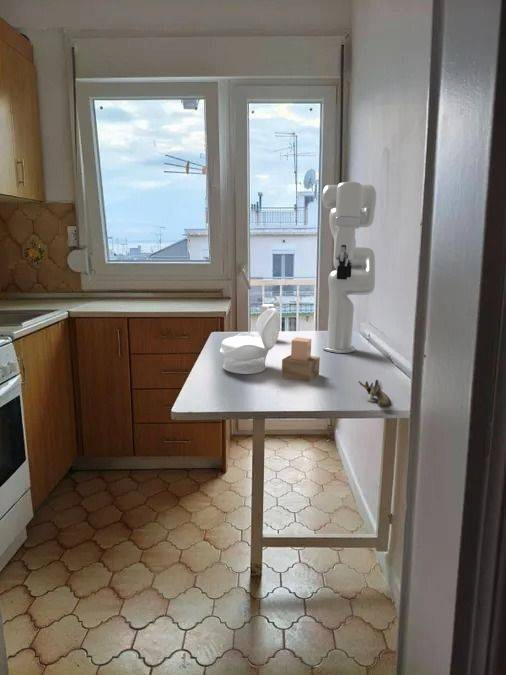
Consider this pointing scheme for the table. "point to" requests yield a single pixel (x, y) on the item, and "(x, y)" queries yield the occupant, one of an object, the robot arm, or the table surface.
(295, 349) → the peach block
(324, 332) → the table surface
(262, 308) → the white rounded tall piece
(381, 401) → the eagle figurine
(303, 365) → the walnut block
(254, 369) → the white toilet model
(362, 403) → the table surface
